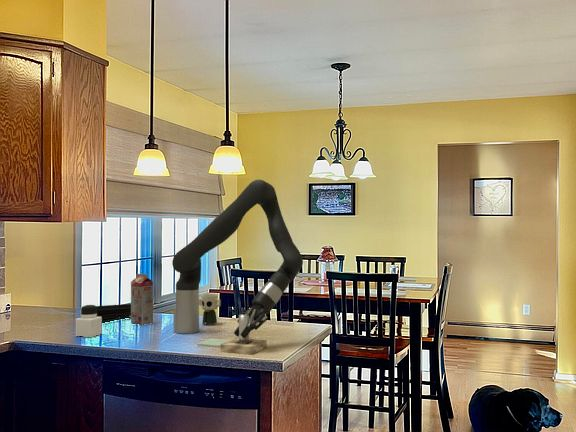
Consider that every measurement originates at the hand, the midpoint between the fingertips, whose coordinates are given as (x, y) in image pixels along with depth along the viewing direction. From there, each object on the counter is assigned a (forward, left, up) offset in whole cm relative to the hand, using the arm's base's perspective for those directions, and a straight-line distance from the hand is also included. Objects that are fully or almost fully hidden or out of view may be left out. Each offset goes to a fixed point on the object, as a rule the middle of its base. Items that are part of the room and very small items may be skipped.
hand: (239, 335), depth 201 cm
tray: (-86, +37, -5) cm, 94 cm away
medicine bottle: (-67, +2, -5) cm, 67 cm away
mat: (-13, +7, -5) cm, 16 cm away
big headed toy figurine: (-35, +41, -5) cm, 54 cm away
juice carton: (-63, +31, -5) cm, 70 cm away
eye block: (+1, +2, -5) cm, 5 cm away
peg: (+1, +2, -5) cm, 5 cm away
